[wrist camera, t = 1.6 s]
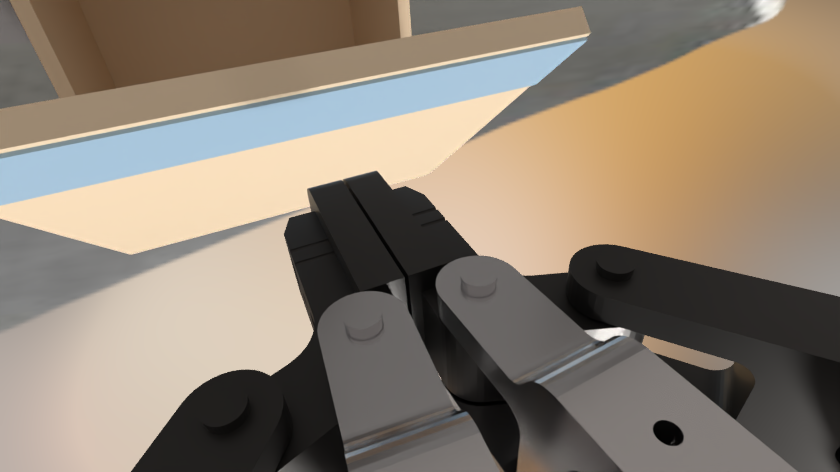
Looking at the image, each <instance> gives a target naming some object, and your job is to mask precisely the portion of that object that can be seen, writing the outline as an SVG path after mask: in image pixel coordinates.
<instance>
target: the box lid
mask: <svg viewBox="0 0 840 472" xmlns="http://www.w3.org/2000/svg"><path fill="white" fill-rule="evenodd" d="M590 33H591V32H590V29H589V26H588V23H587V20H586V18H585V15H584V12H583V9H582V6H580V7H574V8H569V9H563V10H557V11H552V12H546V13H540V14H535V15H529V16H523V17H518V18H512V19H506V20H501V21H495V22H489V23H484V24H478V25H472V26H467V27H461V28H455V29H450V30H444V31H438V32H433V33H427V34H421V35H416V36H410V37H404V38H399V39H393V40H388V41H382V42H376V43H371V44H365V45H359V46H354V47H348V48H342V49H337V50H331V51H325V52H320V53H314V54H308V55H303V56H297V57H291V58H286V59H280V60H274V61H269V62H263V63H257V64H252V65H246V66H240V67H235V68H229V69H223V70H218V71H212V72H206V73H201V74H195V75H190V76H184V77H178V78H173V79H167V80H161V81H156V82H150V83H144V84H139V85H133V86H127V87H122V88H116V89H110V90H105V91H99V92H93V93H88V94H82V95H76V96H71V97H65V98H59V99H54V100H48V101H42V102H37V103H31V104H25V105H20V106H14V107H9V108H3V109H0V219H4V220H7V221H11V222H15V223H18V224H22V225H25V226H29V227H33V228H36V229H40V230H44V231H47V232H51V233H54V234H58V235H62V236H65V237H69V238H73V239H76V240H80V241H83V242H87V243H91V244H94V245H98V246H101V247H105V248H109V249H112V250H116V251H120V252H123V253H127V254H130V255H131V254H135V253H139V252H142V251H146V250H150V249H154V248H157V247H161V246H165V245H169V244H172V243H176V242H180V241H183V240H187V239H191V238H195V237H198V236H202V235H206V234H210V233H213V232H217V231H221V230H224V229H228V228H232V227H236V226H239V225H243V224H247V223H250V222H254V221H258V220H262V219H265V218H269V217H273V216H277V215H280V214H284V213H288V212H291V211H295V210H299V209H303V208H306V207H310V204H309V199H308V194H307V188H311V187H315V186H319V185H323V184H327V183H330V182H334V181H338V180H342V181H343V179H345V178H349V177H353V176H357V175H361V174H365V173H369V172H373V171H378V172H379V174H380V175H381V176H382V177H383V179H384V180H385V181H386V182H387V184H388V185H392V184H395V183H399V182H403V181H407V180H411V179H414V178H418V177H422V176H425V175H428V174H430V173H431V172H432V171H433V170H434V169H436V168H437V167H438V166H439V165H440V164H441V163H443V161H445V160H446V159H447V158H448V157H449V156H451V154H453V153H454V152H455V151H456V150H457V149H459V148H460V147H461V146H462V145H463V144H464V143H465V142H467V141H468V140H469V139H470V138H471V137H472V136H473V135H475V134H476V133H477V132H478V131H479V130H480V129H481V128H483V127H484V126H485V125H486V124H487V123H488V122H489V121H491V120H492V119H493V118H494V117H495V116H496V115H497V114H499V113H500V112H501V111H502V110H503V109H504V108H505V107H507V106H508V105H509V104H510V103H511V102H512V101H513V100H515V99H516V98H517V97H518V96H519V95H520V94H521V93H523V92H524V91H525V90H526V89H527V88H528V87H530V86H532V85H536V84H537V83H538V82H539V81H541V80H542V79H543V78H544V77H545V76H546V75H548V74H549V73H550V72H551V71H552V70H553V69H554V68H556V67H557V66H558V65H559V64H560V63H561V62H563V61H564V60H565V59H566V58H567V57H568V56H570V55H571V54H572V53H573V52H574V51H575V50H577V49H578V48H579V47H580V46H581V45H582V44H584V43H585V42H586V41H587V36H588V35H589V34H590Z"/></svg>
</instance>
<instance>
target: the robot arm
mask: <svg viewBox="0 0 840 472" xmlns="http://www.w3.org/2000/svg"><path fill="white" fill-rule="evenodd" d="M307 194H308V199H309V204H310V208H311V212H310V213H306V214H302V215H299V216H295V217H291V218H289V221H288V224H287V227H286V230H285V233H284V236H285V239H286V243H287V247H288V251H289V254H290V257H291V261H292V265H293V268H294V271H295V275H296V279H297V282H298V286H299V290H300V293H301V295H302V298H303V301H304V304H305V307H306V310H307V313H308V316H309V318H310V321H311V324H312V327H313V330H314V332H313V335H312V338H311V340H310V342H309V344H308V345H307V347H306V348H305V349H304V350H303V352H302V353H301V354H300V355H299V356H298V357H297V358H296V359H295V360H293V361H292V362H291V363H289V364H288V365H287V366H285V367H284V368H282V369H281V370H279V371H278V372H276V373H275V374H273V375H272V376H269V375H267V374H265V373H263V372H260V371H256V370H236V371H231V372H227V373H224V374H221V375H219V376H217V377H214V378H212V379H210V380H209V381H207V382H205V383H203V384H202V385H201V386H199V387H198V388H197V389H195V390H194V391H193V392H192V393H191V394H190V395H189V396H188V397H187V398H186V399H185V400H184V401H183V403H182V404H181V405H180V407H179V408H178V409H177V410H176V412H175V413H174V415H173V416H172V417H171V419H170V420H169V421H168V423H167V424H166V425H165V427H164V428H163V429H162V431H161V432H160V433H159V435H158V436H157V437H156V439H155V440H154V441H153V443H152V444H151V446H150V447H149V448H148V450H147V451H146V452H145V453H144V455H143V456H142V458H141V459H140V460H139V462H138V463H137V464H136V466H135V467H134V468H133V470H132V471H131V472H840V297H838V296H834V295H829V294H825V293H821V292H817V291H812V290H808V289H804V288H799V287H795V286H791V285H786V284H782V283H778V282H774V281H769V280H765V279H760V278H756V277H752V276H747V275H743V274H739V273H734V272H730V271H726V270H722V269H717V268H712V267H709V266H704V265H700V264H696V263H691V262H687V261H683V260H678V259H674V258H670V257H665V256H661V255H657V254H652V253H648V252H644V251H640V250H635V249H630V248H627V247H622V246H617V245H608V244H605V245H593V246H589V247H586V248H583V249H581V250H579V251H578V252H576V253H575V254H574V255H573V257H572V258H571V261H570V264H569V271H568V273H557V274H546V275H535V276H522V275H521V274H520V273H519V272H518V271H517V270H516V269H515V268H513V267H512V266H511V265H509V264H508V263H506V262H504V261H502V260H499V259H497V258H493V257H488V256H478V255H477V254H476V252H475V251H474V250H473V249H472V248H471V247H470V246H469V244H468V243H467V242H466V241H465V240H464V239H463V238H462V237H461V235H459V233H458V232H457V231H456V230H455V229H454V228H453V227H452V226H451V224H450V223H449V222H448V221H447V220H446V221H445V218H444V217H443V215H442V214H441V213H440V212H439V211H438V210H436V208H435V206H434V205H433V204H432V203H431V202H430V201H429V200H428V198H427V197H426V196H425V195H424V194H421V193H419V192H417V191H415V190H413V189H411V188H408V187H406V186H405V187H401V188H397V189H394V190H392V189H391V187H390V186H389V185H388V184H387V182H386V181H385V180H384V179H383V177H382V176H381V175H380V174H379V172H378V171H373V172H369V173H365V174H361V175H357V176H353V177H349V178H345V179H343V181H342V180H338V181H334V182H330V183H327V184H323V185H319V186H315V187H311V188H307ZM644 335H647V336H650V337H654V338H657V339H660V340H664V341H667V342H670V343H674V344H677V345H681V346H684V347H687V348H690V349H694V350H697V351H700V352H704V353H707V354H711V355H714V356H717V357H721V358H724V359H728V360H731V361H734V364H733V365H732V366H731V367H729V368H727V369H724V370H708V369H704V368H701V367H698V366H695V365H691V364H688V363H685V362H682V361H679V360H675V359H672V358H668V357H666V356H662V355H659V354H656V353H653V352H651V351H650V350H649V349H648V348H647V347H645V346H644V345H643V344H642V342H643V339H644ZM438 374H439V375H438ZM439 376H440V377H441V379H440V377H439Z"/></svg>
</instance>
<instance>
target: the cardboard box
mask: <svg viewBox="0 0 840 472" xmlns="http://www.w3.org/2000/svg"><path fill="white" fill-rule="evenodd" d="M10 2H11V4H12V6H13V8H14V10H15V12H16V14H17V16H18V18H19V20H20V22H21V24H22V26H23V28H24V30H25V32H26V34H27V35H28V37H29V39H30V41H31V43H32V45H33V47H34V49H35V51H36V53H37V55H38V57H39V59H40V61H41V63H42V65H43V67H44V69H45V71H46V72H47V74H48V76H49V78H50V80H51V82H52V84H53V86H54V88H55V90H56V92H57V94H58V96H59V98H65V97H71V96H76V95H82V94H88V93H93V92H99V91H105V90H110V89H116V88H122V87H127V86H133V85H139V84H144V83H150V82H156V81H161V80H167V79H173V78H178V77H184V76H190V75H195V74H201V73H206V72H212V71H218V70H223V69H229V68H235V67H240V66H246V65H252V64H257V63H263V62H269V61H274V60H280V59H286V58H291V57H297V56H303V55H308V54H314V53H320V52H325V51H331V50H337V49H342V48H348V47H354V46H359V45H365V44H371V43H376V42H382V41H388V40H393V39H399V38H404V37H410V36H412V35H411V21H410V7H409V0H10Z"/></svg>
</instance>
